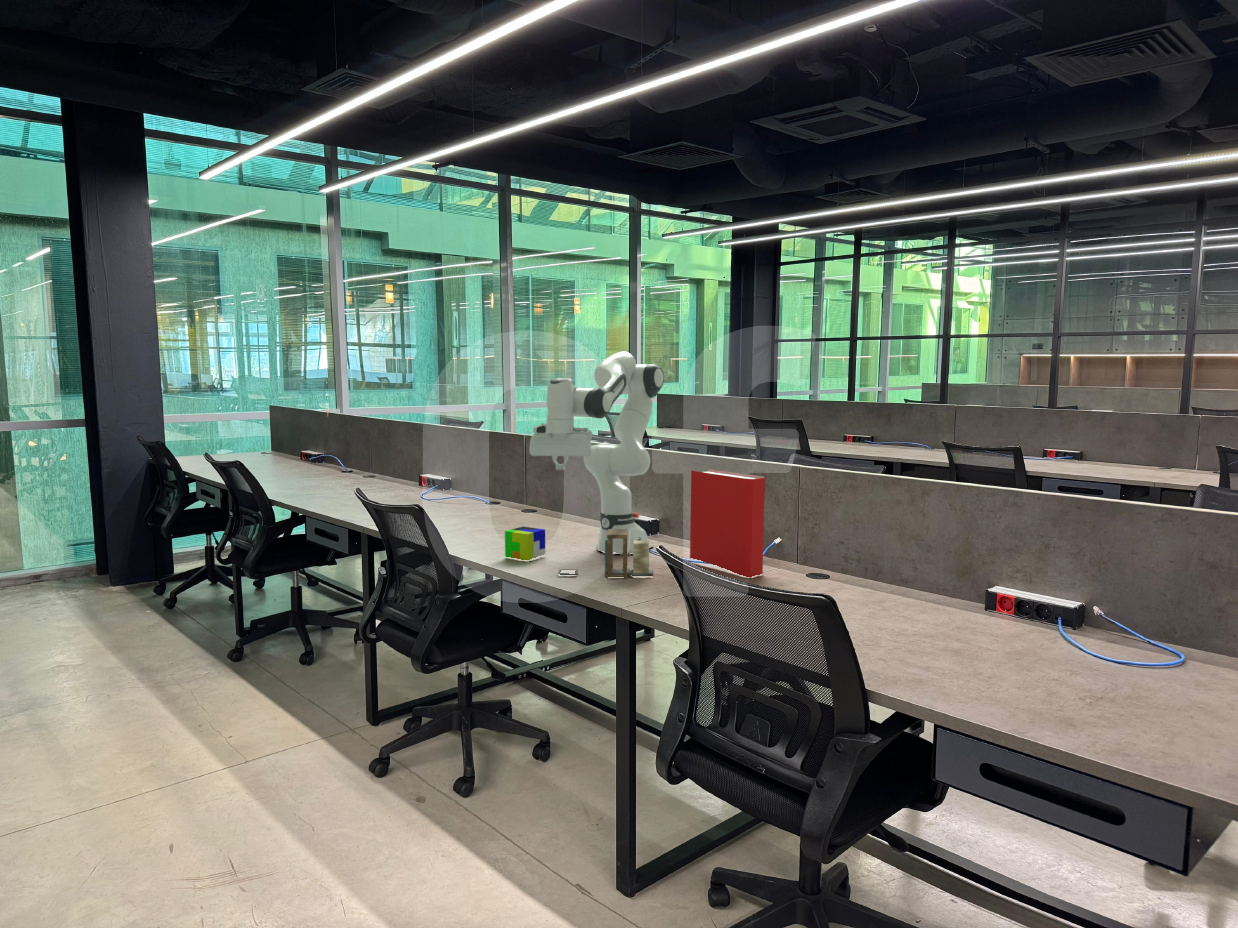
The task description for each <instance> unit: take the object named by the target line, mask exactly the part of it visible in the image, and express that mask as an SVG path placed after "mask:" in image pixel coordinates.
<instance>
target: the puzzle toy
mask: <svg viewBox="0 0 1238 928" xmlns="http://www.w3.org/2000/svg"><path fill="white" fill-rule="evenodd" d="M544 554H545V555H546V529H545V528H536V527H529V526H519V527H516V528H512V529H511V528H510V529H508V530H504V557H505V556H506V557H511V558H517V559H521V560H530V559H532V558H536V557H538V556H541V555H544Z"/></svg>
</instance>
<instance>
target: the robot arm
mask: <svg viewBox="0 0 1238 928" xmlns="http://www.w3.org/2000/svg"><path fill="white" fill-rule="evenodd" d="M593 373H594V375H593V377H594V381H595V383H596V385H597V386H598V387H578V386H577V385H574V384H573V381H572V379H571V378H569V377H557V378H552V379H550V381H548V384H547V390H546V407H547V415H546V421H545V422H544V423H540V424H539V425H536V426H534V427H533V428H532V433H533V434H532V435H531V437H530V441H529V450H528V451H529V452H528V453H529V454H530V456H531V457H552V462H553V463H554V464H555V470H556V471H566V464H567V462H568V461H569V459H570V458H569V457H583V464H584V466H585V468H586V470H587V471H588V472H590V473H591V475H592V476H593V477H594V478H595V480H596V483H597V484H598V487H599V492H600V507H601V508H600V510H601V512H599V523H600V525H599V530H598V531H599V533H598V539H597V540H598V541H597V543H596V550H597V549H598V550H599V551H604V552H605V538H606V537H607V533H608V529H628V538H627V553H633V540H636V541H648V535H647V532H646V530H645V529H644V528H642V527H641V526H640V525H639V524H637V522H635V521H636V520H635V518H636V519H639V518H640V516H641V515H640V514H639V512H635V511H634V512H632V507H633V506H632V501H633V500H632V492H631V490H630V488H628V486H626V485H625V484H624V483H623V482H622V481H621V478H620V477H619V476H625V477H636V476H642V475H645V474H646V473H647V471H648V470H649V468H650V465H651V456H650V454H649V452H648V450H647V449H646V448H645V447H644V445H643V438H644V435H645V432H646V429H647V427H648V424H649V422H650V418H651V416H652V410H653V400H652V399H653V398H656V396H657V395H658V393H659V392H660V391H661V389H662V387H663V386H664V382H665V374H664V371H663V370H662V368H661V366H659V365H657V364H653V363H648V364H646V363H642V364H641V363H638V364H637V361H636V358H635V357H634V356H633V355H632V354H631V353H630V352H627V351H622V350H621V351H618V352H615V353H613V354H611V355H609V356H607V357H606V358H605V359H603V360H602V361H600V363H599V364H597V366H596V368H595V369H594V372H593ZM621 395H627V400H626V401H625V404H624V405H623V407H622V409H621V410H620V413H619V415H618V418H617V420H616V422H615V425H614V426H613V427H614V428H613V433H614V436H615V437H616V439H617V440H618V441H619V442H620V443H618V444H605V443H597V444H594V445H592V443H591V441H593V440H592V439H593V432H592V430H591V429H589V428H588V427H574V425H575V424H574V423H575V417H580V418H595V419H603V418H605V417H606V416H607V415H608V414H609V413H610V411H611V409H612V406H613V405H614V403H615V402H616V401H617V400H618V398H620V396H621ZM558 457H563V460H564V462H563V463H559V462H558V461H557V459H558ZM597 546H598V547H597ZM613 552H616V553H623V539H613Z"/></svg>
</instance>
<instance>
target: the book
mask: <svg viewBox="0 0 1238 928" xmlns="http://www.w3.org/2000/svg"><path fill="white" fill-rule="evenodd" d="M765 485H766V477H765V476H761V475H753V474H746V473H739V472H733V471H724V470H719V469H718V470H717V469H712V468H710V469H709V468H708V469H707V471H696V470H691V471H690V519H689V520H690V524H689V525H690V526H689V527H690V528H689V531H690V533H689V536H690V537H689V539H690V540H689V559H690V558H693V559H697V560H701V561H703V562H706V563H711V564H713V565H717V566H719V567H721V568H725V569H727V570H730V571H732V572H734V573H737V574H739V575H743V576H746V577H752V576H755V575H760V574H763V572H764V571H763V569H764V536H765V535H764V533H765V531H764V529H765V526H764V525H765V497H766V495H765V494H766V493H765V490H766V489H765V488H766V486H765Z"/></svg>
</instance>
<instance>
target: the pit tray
mask: <svg viewBox="0 0 1238 928" xmlns="http://www.w3.org/2000/svg"><path fill="white" fill-rule="evenodd" d="M561 570H576V571H575V574H569V573H560V572H561ZM577 572H578V573H579V569H573V568H572V569H571V568H569V569H568V568H567V569H566V568H559V570H558V571H557V575H558V574H560V575H577V576H578V574H577Z"/></svg>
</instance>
